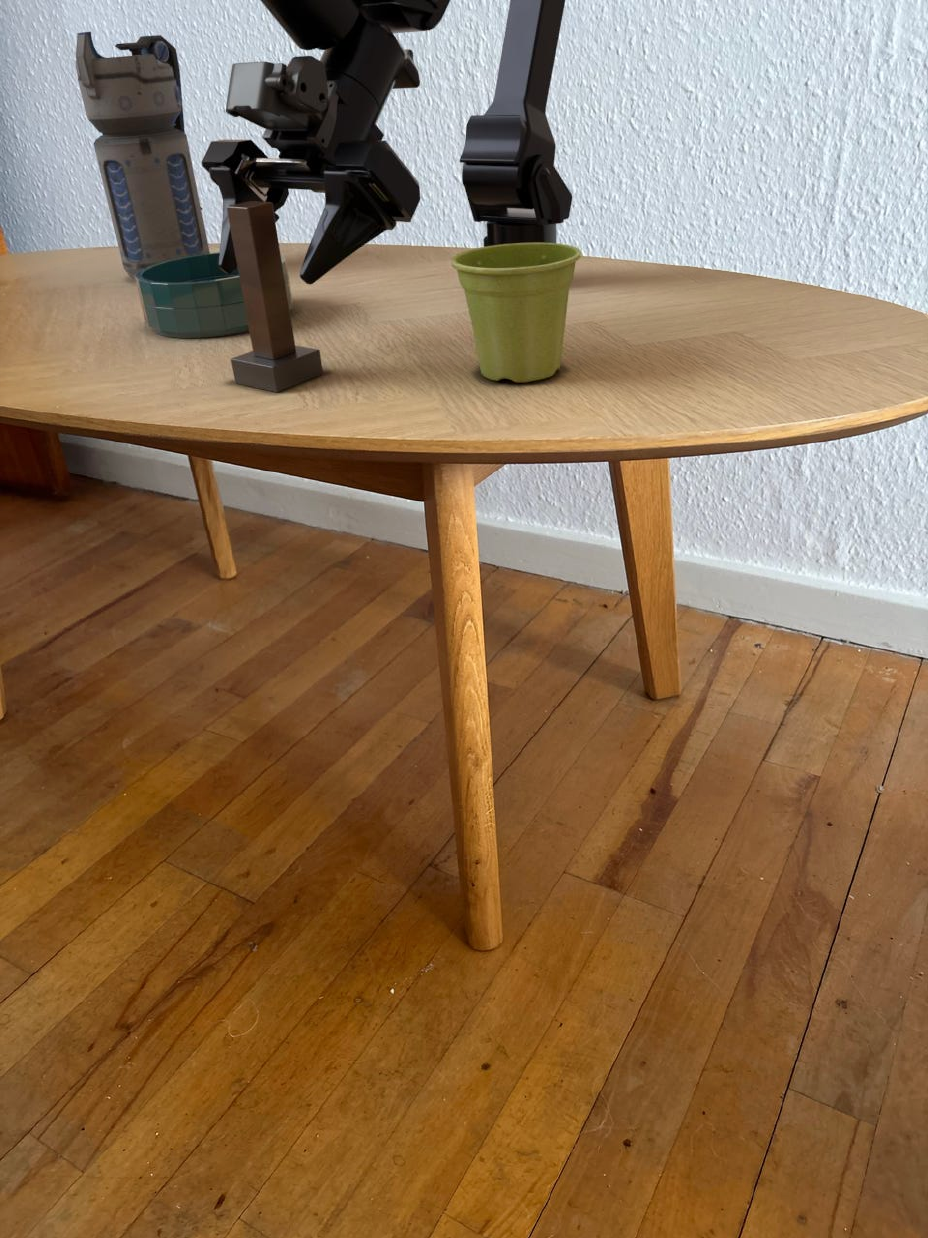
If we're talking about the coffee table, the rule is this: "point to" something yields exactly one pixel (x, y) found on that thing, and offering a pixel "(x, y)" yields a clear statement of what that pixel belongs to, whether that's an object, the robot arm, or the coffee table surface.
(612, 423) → the coffee table surface
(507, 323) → the plant pot
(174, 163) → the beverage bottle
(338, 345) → the coffee table surface
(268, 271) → the brown post on base
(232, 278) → the bowl
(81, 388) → the coffee table surface
